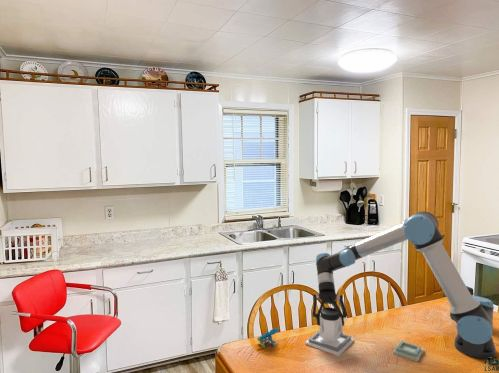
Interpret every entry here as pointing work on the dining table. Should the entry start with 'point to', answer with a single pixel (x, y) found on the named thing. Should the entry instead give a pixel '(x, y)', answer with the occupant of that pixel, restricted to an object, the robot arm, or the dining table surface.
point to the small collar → (408, 350)
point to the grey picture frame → (330, 343)
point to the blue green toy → (268, 334)
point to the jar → (330, 324)
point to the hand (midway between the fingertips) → (331, 332)
